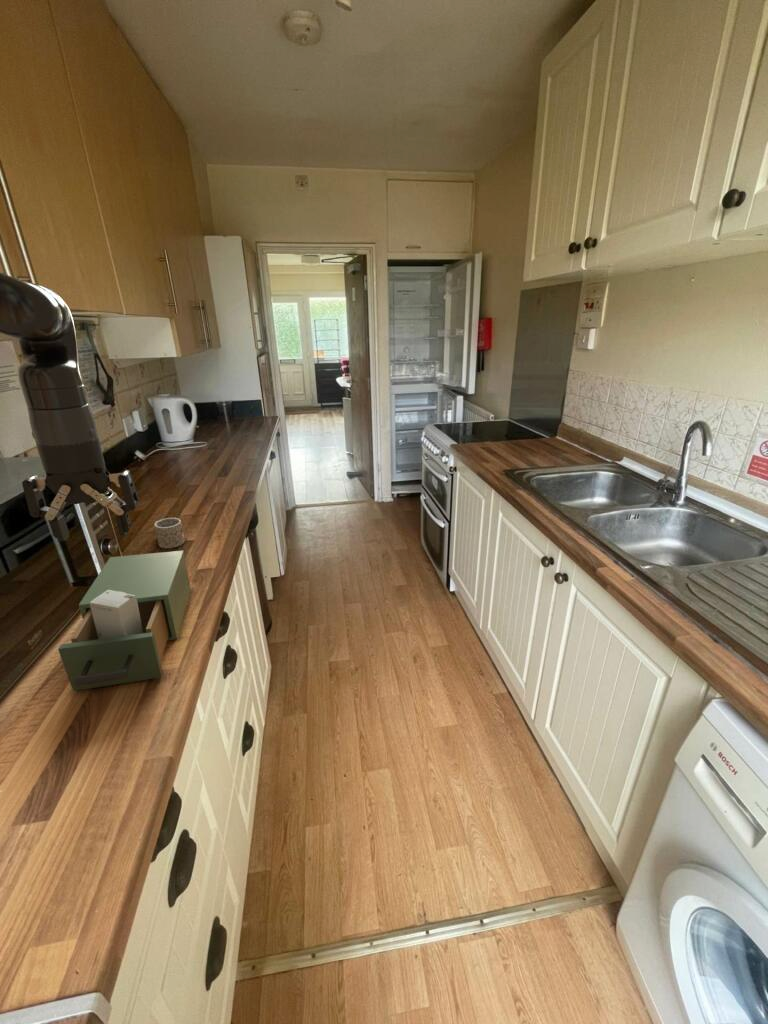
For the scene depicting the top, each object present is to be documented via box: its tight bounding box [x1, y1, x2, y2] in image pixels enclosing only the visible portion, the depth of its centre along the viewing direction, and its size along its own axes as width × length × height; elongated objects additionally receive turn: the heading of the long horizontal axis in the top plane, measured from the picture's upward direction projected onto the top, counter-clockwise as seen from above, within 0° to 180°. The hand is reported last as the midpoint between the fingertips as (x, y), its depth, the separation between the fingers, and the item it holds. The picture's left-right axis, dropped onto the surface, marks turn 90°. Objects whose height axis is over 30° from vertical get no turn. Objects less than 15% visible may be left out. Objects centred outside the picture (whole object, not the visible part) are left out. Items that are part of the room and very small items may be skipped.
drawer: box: [57, 599, 170, 692], centre depth 76 cm, size 22×14×9 cm, turn 14°
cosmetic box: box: [90, 590, 143, 639], centre depth 76 cm, size 6×4×12 cm
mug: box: [154, 517, 186, 549], centre depth 121 cm, size 10×7×7 cm, turn 57°
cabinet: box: [78, 550, 192, 641], centre depth 89 cm, size 18×15×11 cm
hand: (94, 536), depth 68 cm, fingers open, 8 cm apart
